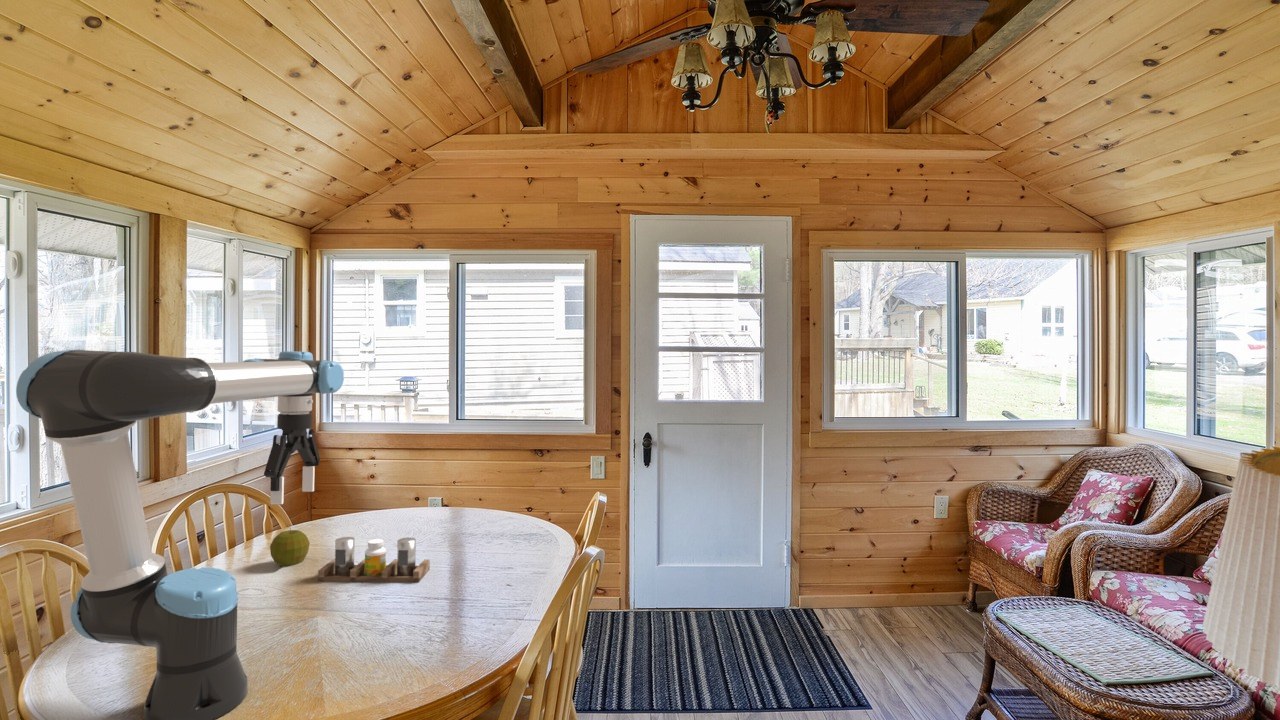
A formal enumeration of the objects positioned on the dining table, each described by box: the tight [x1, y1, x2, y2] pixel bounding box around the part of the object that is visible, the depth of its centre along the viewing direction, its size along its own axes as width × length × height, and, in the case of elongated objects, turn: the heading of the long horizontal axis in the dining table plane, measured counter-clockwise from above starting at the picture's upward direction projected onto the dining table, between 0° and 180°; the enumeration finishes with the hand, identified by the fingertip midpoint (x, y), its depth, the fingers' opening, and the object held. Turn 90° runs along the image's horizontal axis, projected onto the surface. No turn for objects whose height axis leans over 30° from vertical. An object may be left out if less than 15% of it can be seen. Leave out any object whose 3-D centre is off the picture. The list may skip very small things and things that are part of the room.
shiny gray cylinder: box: [334, 536, 355, 576], centre depth 165 cm, size 5×5×10 cm
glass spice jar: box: [396, 537, 417, 576], centre depth 166 cm, size 5×5×10 cm
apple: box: [269, 528, 311, 567], centre depth 175 cm, size 10×10×11 cm
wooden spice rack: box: [317, 558, 431, 583], centre depth 166 cm, size 9×27×4 cm, turn 92°
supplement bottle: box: [364, 538, 387, 576], centre depth 166 cm, size 5×5×10 cm
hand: (293, 497), depth 149 cm, fingers open, 13 cm apart
